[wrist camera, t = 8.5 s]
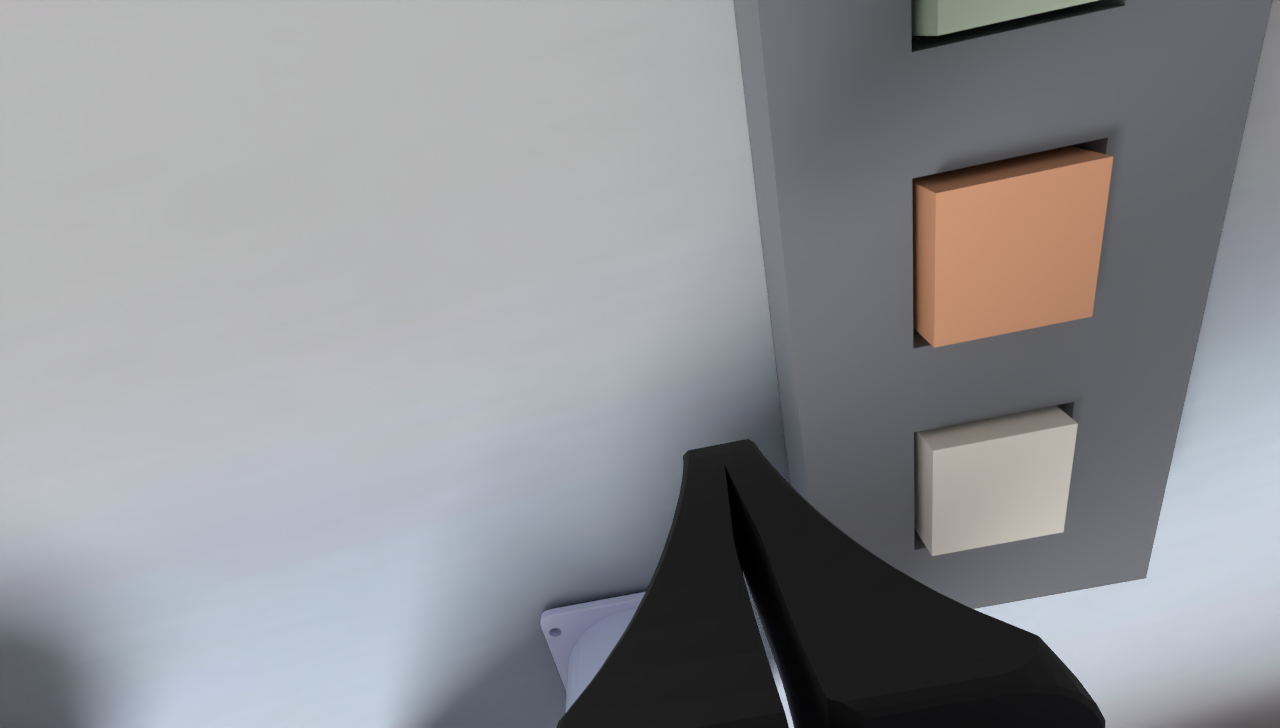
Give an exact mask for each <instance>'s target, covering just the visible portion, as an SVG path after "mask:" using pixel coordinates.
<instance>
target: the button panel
mask: <svg viewBox="0 0 1280 728" xmlns="http://www.w3.org/2000/svg"><path fill="white" fill-rule="evenodd" d="M1271 4H1272V0H1098V1H1093V2H1089V3H1084V4H1080V5H1075V6H1071V7H1066V8H1062V9H1057V10H1052V11H1048V12H1043V13H1039V14H1034V15H1030V16H1025V17H1021V18H1016V19H1012V20H1007V21H1003V22H998V23H993V24H989V25H984V26H980V27H975V28H971V29H966V30H962V31H957V32H953V33H948V34H944V35H939V36H927V37H922V38H918V39H913V40H911V0H734V9H735V17H736V26H737V35H738V43H739V52H740V60H741V69H742V77H743V86H744V95H745V103H746V112H747V120H748V129H749V138H750V146H751V155H752V163H753V172H754V180H755V189H756V198H757V206H758V215H759V223H760V232H761V240H762V249H763V258H764V266H765V275H766V283H767V292H768V300H769V309H770V318H771V326H772V335H773V343H774V352H775V360H776V369H777V378H778V386H779V395H780V403H781V412H782V420H783V429H784V438H785V446H786V455H787V463H788V472H789V480H790V485H791V486H792V487H793V488H794V489H795V490H796V491H797V492H798V493H799V494H800V495H801V496H802V497H803V498H804V499H805V500H806V501H807V502H809V503H810V504H811V505H812V506H813V507H814V508H815V509H816V510H817V511H819V512H820V513H821V514H822V515H823V516H824V517H826V518H827V519H828V520H829V521H830V522H832V523H833V524H834V525H835V526H836V527H838V528H839V529H840V530H841V531H843V532H844V533H845V534H847V535H848V536H849V537H850V538H852V539H853V540H854V541H856V542H857V543H859V544H860V545H861V546H863V547H864V548H866V549H867V550H869V551H870V552H871V553H873V554H874V555H876V556H877V557H879V558H880V559H882V560H883V561H885V562H887V563H888V564H890V565H891V566H893V567H894V568H896V569H898V570H899V571H901V572H903V573H905V574H906V575H908V576H910V577H912V578H913V579H915V580H917V581H919V582H920V583H922V584H924V585H926V586H928V587H929V588H931V589H933V590H935V591H937V592H938V593H941V594H943V595H945V596H947V597H949V598H951V599H953V600H955V601H957V602H959V603H961V604H963V605H965V606H967V607H969V608H972V609H975V608H981V607H986V606H992V605H997V604H1003V603H1009V602H1014V601H1020V600H1026V599H1031V598H1037V597H1042V596H1048V595H1054V594H1059V593H1065V592H1071V591H1076V590H1082V589H1087V588H1093V587H1099V586H1104V585H1110V584H1115V583H1121V582H1127V581H1132V580H1138V579H1144V578H1146V575H1147V570H1148V566H1149V561H1150V557H1151V552H1152V548H1153V543H1154V538H1155V534H1156V529H1157V525H1158V520H1159V516H1160V511H1161V506H1162V502H1163V497H1164V493H1165V488H1166V484H1167V479H1168V474H1169V470H1170V465H1171V461H1172V456H1173V452H1174V447H1175V442H1176V438H1177V433H1178V429H1179V424H1180V420H1181V415H1182V410H1183V406H1184V401H1185V397H1186V392H1187V388H1188V383H1189V378H1190V374H1191V369H1192V365H1193V360H1194V356H1195V351H1196V346H1197V342H1198V337H1199V333H1200V328H1201V324H1202V319H1203V314H1204V310H1205V305H1206V301H1207V296H1208V292H1209V287H1210V282H1211V278H1212V273H1213V269H1214V264H1215V260H1216V255H1217V250H1218V246H1219V241H1220V237H1221V232H1222V228H1223V223H1224V218H1225V214H1226V209H1227V205H1228V200H1229V196H1230V191H1231V186H1232V182H1233V177H1234V173H1235V168H1236V164H1237V159H1238V154H1239V150H1240V145H1241V141H1242V136H1243V132H1244V127H1245V122H1246V118H1247V113H1248V109H1249V104H1250V100H1251V95H1252V91H1253V86H1254V81H1255V77H1256V72H1257V68H1258V63H1259V59H1260V54H1261V49H1262V45H1263V40H1264V36H1265V31H1266V27H1267V22H1268V17H1269V13H1270V8H1271ZM1065 146H1073V147H1077V148H1081V149H1085V150H1089V151H1094V152H1098V153H1102V154H1106V155H1110V156H1113V164H1112V171H1111V179H1110V186H1109V194H1108V201H1107V209H1106V217H1105V224H1104V232H1103V239H1102V247H1101V254H1100V262H1099V269H1098V277H1097V284H1096V292H1095V299H1094V307H1093V314H1092V317H1087V318H1082V319H1077V320H1072V321H1067V322H1062V323H1057V324H1052V325H1047V326H1042V327H1036V328H1031V329H1026V330H1021V331H1016V332H1011V333H1006V334H1001V335H996V336H991V337H986V338H981V339H976V340H971V341H966V342H961V343H956V344H950V345H945V346H940V347H935V348H934V347H933V346H932V345H931V344H930V343H929V342H928V341H927V340H926V339H925V338H923V337H922V336H921V335H920V334H919V333H918V332H917V331H916V330H915V329H914V328H913V209H912V179H913V178H917V177H922V176H927V175H932V174H936V173H941V172H946V171H951V170H955V169H960V168H965V167H970V166H974V165H979V164H984V163H989V162H993V161H998V160H1003V159H1008V158H1012V157H1017V156H1022V155H1027V154H1031V153H1036V152H1041V151H1046V150H1050V149H1055V148H1060V147H1065ZM1055 405H1056V406H1057V407H1059V408H1060V409H1061V410H1062V411H1064V412H1065V413H1066V414H1067V415H1068V416H1070V417H1071V418H1072V419H1073V420H1074V421H1076V422H1077V423H1078V427H1077V434H1076V442H1075V449H1074V457H1073V464H1072V472H1071V480H1070V487H1069V495H1068V502H1067V510H1066V517H1065V525H1064V532H1062V533H1056V534H1051V535H1045V536H1040V537H1034V538H1029V539H1024V540H1018V541H1013V542H1007V543H1002V544H996V545H991V546H985V547H980V548H974V549H969V550H963V551H958V552H952V553H947V554H941V555H936V556H932V555H931V554H930V552H929V551H928V549H927V547H926V546H925V544H924V543H923V541H922V539H921V538H920V536H919V535H918V533H917V532H916V530H915V528H914V432H920V431H925V430H930V429H935V428H940V427H946V426H951V425H956V424H961V423H966V422H972V421H977V420H982V419H987V418H993V417H998V416H1003V415H1008V414H1013V413H1019V412H1024V411H1029V410H1034V409H1039V408H1045V407H1050V406H1055Z"/></svg>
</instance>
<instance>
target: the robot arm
mask: <svg viewBox="0 0 1280 728" xmlns="http://www.w3.org/2000/svg"><path fill="white" fill-rule="evenodd" d="M683 461H684V466H683V478H682V484H681V490H680V495H679V499H678V503H677V507H676V511H675V515H674V519H673V523H672V526H671V529H670V532H669V535H668V538H667V541H666V544H665V547H664V550H663V553H662V555H661V558H660V561H659V563H658V566H657V568H656V570H655V573H654V575H653V577H652V580H651V582H650V584H649V586H648V588H647V590H646V592H641V593H636V594H630V595H625V596H619V597H614V598H608V599H603V600H597V601H592V602H587V603H581V604H576V605H570V606H565V607H559V608H554V609H549V610H546V611H545V612H543V613H542V615H541V620H540V625H541V628H542V631H543V633H544V636H545V638H546V641H547V643H548V646H549V649H550V651H551V654H552V656H553V659H554V661H555V664H556V667H557V669H558V672H559V674H560V677H561V680H562V682H563V685H564V687H565V690H566V692H567V695H566V712H565V714H564V716H563V717H562V718H561V719H560V720H559V722H558V725H557V728H789V727H788V723H787V719H786V715H785V712H784V709H783V706H782V703H781V700H780V697H779V693H778V690H777V687H776V684H775V681H774V678H773V675H772V672H771V668H770V665H769V662H768V659H767V656H766V653H765V649H764V646H763V643H762V639H761V636H760V633H759V629H758V626H757V623H756V619H755V616H754V613H753V609H752V606H751V602H750V599H749V595H748V592H747V588H746V585H745V581H744V577H743V572H744V575H745V578H746V581H747V583H748V586H749V589H750V592H751V595H752V597H753V600H754V603H755V606H756V609H757V612H758V614H759V617H760V620H761V623H762V625H763V628H764V631H765V634H766V637H767V639H768V642H769V645H770V648H771V651H772V653H773V656H774V659H775V662H776V665H777V667H778V671H779V674H780V677H781V680H782V683H783V687H784V690H785V693H786V697H787V701H788V705H789V709H790V713H791V716H792V720H793V724H794V728H1105V719H1104V717H1103V715H1102V713H1101V712H1100V710H1099V708H1098V706H1097V704H1096V703H1095V702H1094V700H1093V699H1092V698H1091V696H1090V695H1089V693H1088V692H1087V691H1086V689H1085V688H1084V687H1083V685H1082V684H1081V683H1080V681H1079V680H1078V679H1077V678H1076V676H1075V675H1074V674H1073V673H1072V672H1071V671H1070V670H1069V669H1068V667H1067V666H1066V665H1065V664H1064V663H1063V662H1062V661H1061V660H1060V659H1059V657H1058V656H1057V655H1056V654H1055V653H1054V652H1053V651H1052V650H1051V649H1050V648H1049V647H1048V646H1047V645H1046V643H1045V642H1044V641H1043V640H1042V639H1041V638H1040V637H1039V636H1037V635H1035V634H1032V633H1030V632H1028V631H1025V630H1023V629H1020V628H1018V627H1015V626H1013V625H1010V624H1008V623H1005V622H1003V621H1000V620H998V619H996V618H993V617H991V616H988V615H986V614H983V613H981V612H978V611H976V610H974V609H972V608H969V607H967V606H965V605H963V604H961V603H959V602H957V601H955V600H953V599H951V598H949V597H947V596H945V595H943V594H941V593H938V592H937V591H935V590H933V589H931V588H929V587H928V586H926V585H924V584H922V583H920V582H919V581H917V580H915V579H913V578H912V577H910V576H908V575H906V574H905V573H903V572H901V571H899V570H898V569H896V568H894V567H893V566H891V565H890V564H888V563H887V562H885V561H883V560H882V559H880V558H879V557H877V556H876V555H874V554H873V553H871V552H870V551H869V550H867V549H866V548H864V547H863V546H861V545H860V544H859V543H857V542H856V541H854V540H853V539H852V538H850V537H849V536H848V535H847V534H845V533H844V532H843V531H841V530H840V529H839V528H838V527H836V526H835V525H834V524H833V523H832V522H830V521H829V520H828V519H827V518H826V517H824V516H823V515H822V514H821V513H820V512H819V511H817V510H816V509H815V508H814V507H813V506H812V505H811V504H810V503H809V502H807V501H806V500H805V499H804V498H803V497H802V496H801V495H800V494H799V493H798V492H797V491H796V490H795V489H794V488H793V487H792V486H791V485H790V484H789V483H788V482H787V481H786V480H785V479H784V478H783V477H782V476H781V475H780V474H779V472H778V471H777V470H776V469H775V468H774V467H773V466H772V465H771V464H770V462H769V461H768V460H767V459H766V458H765V456H764V455H763V454H762V453H761V451H760V450H759V449H758V447H757V446H756V445H755V443H754V442H752V441H751V440H749V439H746V440H741V441H736V442H730V443H725V444H720V445H715V446H710V447H704V448H699V449H694V450H689V451H687V452H686V454H685V455H684V456H683ZM742 569H743V570H742ZM553 628H558V629H553Z"/></svg>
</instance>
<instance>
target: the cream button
mask: <svg viewBox="0 0 1280 728" xmlns="http://www.w3.org/2000/svg"><path fill="white" fill-rule="evenodd" d="M1077 427H1078V423H1077V422H1076V421H1074V420H1073V419H1072V418H1071V417H1070V416H1068V415H1067V414H1066V413H1065V412H1064V411H1062V410H1061V409H1060V408H1059V407H1057V406H1056V405H1055V406H1050V407H1045V408H1039V409H1034V410H1029V411H1024V412H1019V413H1013V414H1008V415H1003V416H998V417H993V418H987V419H982V420H977V421H972V422H966V423H961V424H956V425H951V426H946V427H940V428H935V429H930V430H925V431H920V432H914V528H915V530H916V532H917V533H918V535H919V536H920V538H921V539H922V541H923V543H924V544H925V546H926V547H927V549H928V551H929V552H930V554H931V555H932V556H936V555H941V554H947V553H952V552H958V551H963V550H969V549H974V548H980V547H985V546H991V545H996V544H1002V543H1007V542H1013V541H1018V540H1024V539H1029V538H1034V537H1040V536H1045V535H1051V534H1056V533H1062V532H1064V525H1065V517H1066V510H1067V502H1068V495H1069V487H1070V480H1071V472H1072V464H1073V457H1074V449H1075V442H1076V434H1077Z"/></svg>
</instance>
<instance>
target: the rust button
mask: <svg viewBox="0 0 1280 728" xmlns="http://www.w3.org/2000/svg"><path fill="white" fill-rule="evenodd" d="M1112 164H1113V156H1110V155H1106V154H1102V153H1098V152H1094V151H1089V150H1085V149H1081V148H1077V147H1073V146H1065V147H1060V148H1055V149H1050V150H1046V151H1041V152H1036V153H1031V154H1027V155H1022V156H1017V157H1012V158H1008V159H1003V160H998V161H993V162H989V163H984V164H979V165H974V166H970V167H965V168H960V169H955V170H951V171H946V172H941V173H936V174H932V175H927V176H922V177H917V178H913V179H912V209H913V328H914V329H915V330H916V331H917V332H918V333H919V334H920V335H921V336H922V337H923V338H925V339H926V340H927V341H928V342H929V343H930V344H931V345H932V346H933V347H934V348H935V347H940V346H945V345H950V344H956V343H961V342H966V341H971V340H976V339H981V338H986V337H991V336H996V335H1001V334H1006V333H1011V332H1016V331H1021V330H1026V329H1031V328H1036V327H1042V326H1047V325H1052V324H1057V323H1062V322H1067V321H1072V320H1077V319H1082V318H1087V317H1092V314H1093V307H1094V299H1095V292H1096V284H1097V277H1098V269H1099V262H1100V254H1101V247H1102V239H1103V232H1104V224H1105V217H1106V209H1107V201H1108V194H1109V186H1110V179H1111V171H1112Z"/></svg>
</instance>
